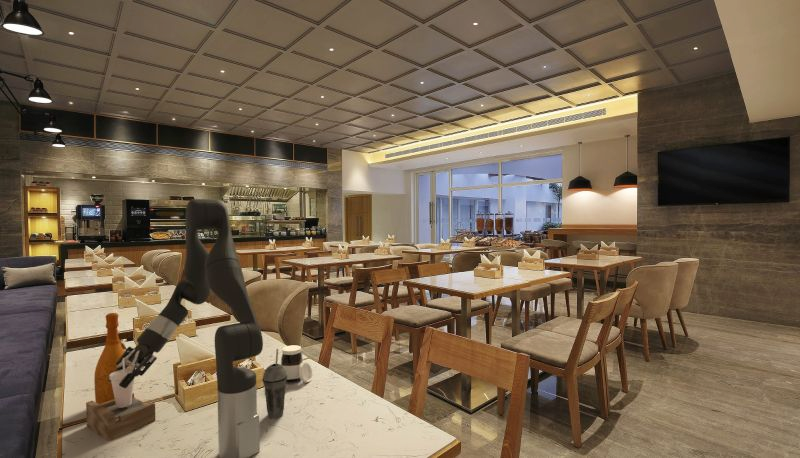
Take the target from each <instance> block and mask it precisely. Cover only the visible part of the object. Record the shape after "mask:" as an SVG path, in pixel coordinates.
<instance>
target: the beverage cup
mask: <svg viewBox="0 0 800 458" xmlns="http://www.w3.org/2000/svg"><path fill="white" fill-rule="evenodd" d="M278 356H279V349H278V348H276V354H275V363H272V364H270V365H268V366H267V367H266V368H265V370H264V371H263V375H262V383H263V387H264V395H265V402H266V404H265V405H266V412H267V417H268V419H279V418H281V417H283V415H284V410H285V400H286V399H285V398H286V397H285V396H286V384H287V382H286V381H287V373H286V370H285V368H284V367H283V366H282V365H281V363H278V360H279V358H278Z"/></svg>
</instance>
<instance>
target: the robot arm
mask: <svg viewBox="0 0 800 458" xmlns="http://www.w3.org/2000/svg"><path fill="white" fill-rule="evenodd" d="M185 208H186V209H185V247H186V248H185V262H184V267H183V268H184V269H183V276H184V278H182V279H181V280H179V281H178V283H176V286H175V288H174V291H173V293H172V295H171V296H170V299H169V300H168V303H167V304H166V305H165V307H164V308H163V309H162V310H161V311H160V312H159V314H158V315H157V316H155V318H154V319H153V320H152V321H151V322H150V323H149V324H148V325H147V326H146V328H145V329H144V330H143V331H142V332H141V334H140V335H139V336H138V337H137V338H136V342H137V343H138V344H137V345H136V346H134V347H131V346H128V347H126V348H127V349H126V350H125V352H124V353H123V355H122V356H121V357H120V358H119V360H118V361H117V362H116V365H117V369H116V370H115V371H118V370H123V361H122V360H123V358H125V369H128V368H129V367H132V368H131V370H130V372H129V373H128V374H127V375H126V376H125V377H124V379H123V380H122V381H121V382H120V384H119V386H121V387H123V388H127V387H128V385H129V384H130V383H131V382H132V380H133V379H134V380H135V377H136V378H137V377H138V376H139V377H140V376H141V377H142V376H143V375H145V373H146V372H147V371H148V370H149V369H150V368H151V367H152V365H153V364H154V363H155V362H156V361H157V359H158V357H157V356H155V355H153V354H154V353H159V352H160V351H161V350H162V349H163V348H164V347H165V345H166V344H168V341H169V340H170V339H171V338H172V337H173V335H174V334H175V332H176V331H177V329H178V327H179V326H180V325H181V324H182V323H183V321H184V320H185V319H186V317H187V316H188V315H189V310H188V309H187V307H185V306H184V305H183V304H182V300H185V301H187V302H190V303H192V304H194V305H199V306H200V305H203V304H204V303H206V302H207V301H208V299H209V297H210V295H211V294H210V293H211V292H212V293H213V294H214V295H215V296H216V297H218V299H220V300H221V301H223V302H224V304H226V305H227V306H228V307H229V308H230V309H231V310H232V311H233V312H234V314H235V315H236V318H237V319H238V321H239V322H236V323H233V324H232V323H231V324H224V325H222V326H221V325H220V326H219V327H218V328H217V329H216V330H215V334H214V352H215V353H214V354H215V364H216V365H215V367H216V371H215V372H216V381H217V383H216V384H217V389H216V390H217V423H218V424H217V435H218V438H217V439H218V457H219V458H251V457H252V456H254V455H255V454H256V455H257V453H259V452H260V449H261V447H260V446H261V445H260V444H261V443H260V437H261V436H260V415H259V414H258V405H257V404H258V403H257V401H258V400H257V399H258V398H257V393H258V391H257V374H256V371H254V370H252V369H250V368H244V367H243V368H242V367H236V366H234V362H237V361H241V360H245V359H246V360H247V359H250V358H254V357H256V356H259V355H260V354H261V353H262V352H263V347H264V339H263V333H262V330H261V328H260V324H259V321H258V319H257V317H256V313H255V311H254V307H253V306H252V303H251V300H250V298H249V294H248V289H247V286H246V281H245V278H244V273H243V270H242V269H243V268H242V265H241V261H240V258H239V256H238V252H237V250H236V246H235V245H236V244H235V242H234V238H233V234H232V228H231V222H230V217H229V211H228V207H227V205H226V203H225V202H224V201H223V200H221V199H212V198H210V199H209V198H207V199H206V198H201V199H200V198H194V199H190V200H189V201H188V202H187V205H186V207H185ZM199 230H215V231H216V233H217V237H216V240H215V242H214V244H213V246H212V248H211V249H210V251H209V252H208V250H207V249H206V247H205V246H204V244H203V242H202V241H201V240H200V238H199V234H198V231H199ZM121 361H122V362H121ZM126 364H127V365H126ZM115 371H114V372H115ZM109 378H110V377H109ZM109 378H108V380H109V381H110V382H111V380H110V379H109Z"/></svg>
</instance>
